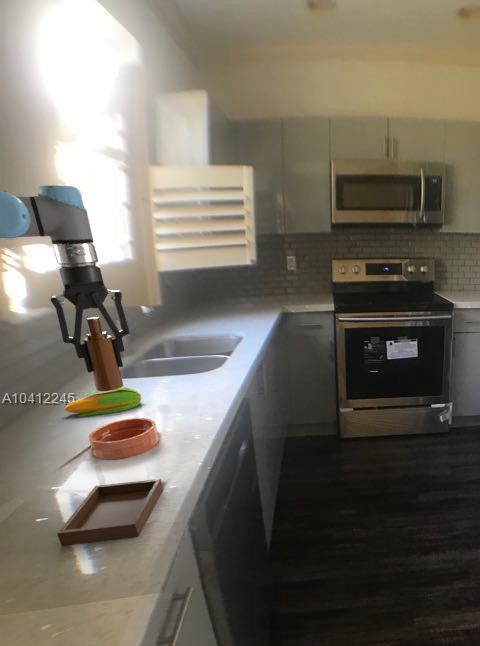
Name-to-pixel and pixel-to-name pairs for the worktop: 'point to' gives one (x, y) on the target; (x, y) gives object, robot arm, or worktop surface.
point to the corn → (105, 402)
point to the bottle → (102, 357)
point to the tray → (112, 512)
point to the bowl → (123, 438)
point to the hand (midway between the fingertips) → (105, 368)
